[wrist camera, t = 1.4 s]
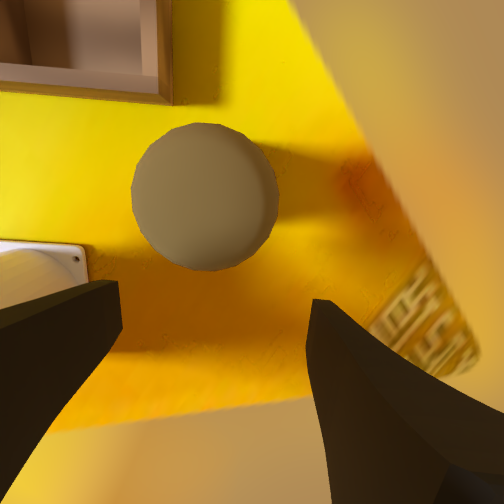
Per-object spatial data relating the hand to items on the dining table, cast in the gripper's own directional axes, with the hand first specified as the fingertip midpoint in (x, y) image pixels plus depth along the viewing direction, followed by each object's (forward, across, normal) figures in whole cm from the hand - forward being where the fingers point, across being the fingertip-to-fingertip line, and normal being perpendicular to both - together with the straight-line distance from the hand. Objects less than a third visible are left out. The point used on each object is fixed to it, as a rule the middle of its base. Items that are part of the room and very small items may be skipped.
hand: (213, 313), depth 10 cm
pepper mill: (+11, +1, -4) cm, 11 cm away
